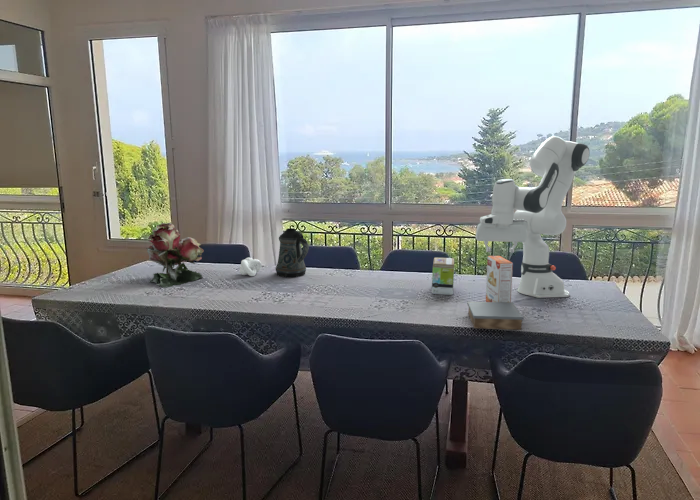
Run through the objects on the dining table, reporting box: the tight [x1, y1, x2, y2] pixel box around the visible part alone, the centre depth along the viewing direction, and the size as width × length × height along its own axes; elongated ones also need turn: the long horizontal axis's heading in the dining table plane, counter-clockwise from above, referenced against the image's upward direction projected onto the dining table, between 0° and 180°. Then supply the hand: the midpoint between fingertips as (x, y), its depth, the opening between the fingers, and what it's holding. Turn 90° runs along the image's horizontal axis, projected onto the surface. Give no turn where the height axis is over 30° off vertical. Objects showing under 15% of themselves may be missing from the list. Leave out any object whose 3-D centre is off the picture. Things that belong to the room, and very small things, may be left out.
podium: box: [467, 301, 525, 330], centre depth 191 cm, size 18×18×5 cm
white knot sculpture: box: [239, 257, 262, 277], centre depth 267 cm, size 11×12×9 cm
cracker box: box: [485, 255, 514, 303], centre depth 208 cm, size 14×6×21 cm, turn 5°
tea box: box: [431, 257, 455, 296], centre depth 234 cm, size 15×10×15 cm, turn 168°
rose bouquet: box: [146, 222, 205, 289], centre depth 257 cm, size 26×29×30 cm
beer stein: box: [275, 227, 310, 279], centre depth 266 cm, size 16×19×25 cm
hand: (499, 252), depth 205 cm, fingers open, 8 cm apart
